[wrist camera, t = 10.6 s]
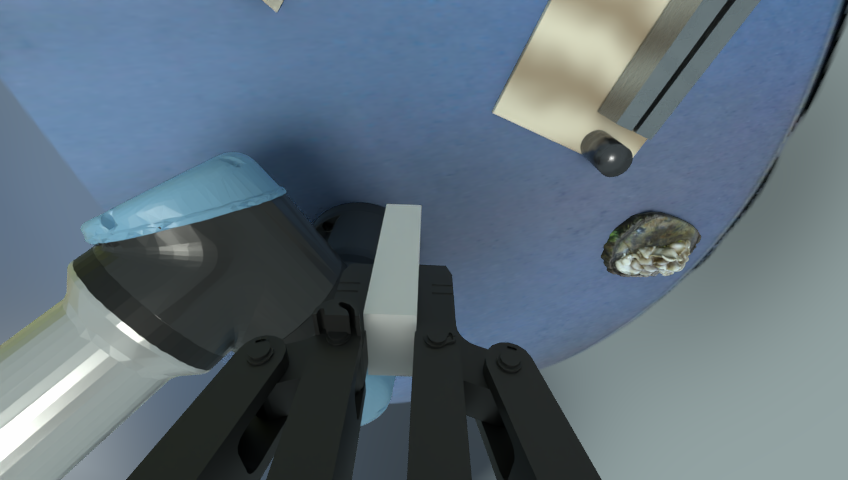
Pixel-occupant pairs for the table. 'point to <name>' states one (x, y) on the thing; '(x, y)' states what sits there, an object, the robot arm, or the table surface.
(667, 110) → the tongs fixed
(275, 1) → the condiment
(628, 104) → the tong arm
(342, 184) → the table surface
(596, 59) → the board
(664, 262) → the log
